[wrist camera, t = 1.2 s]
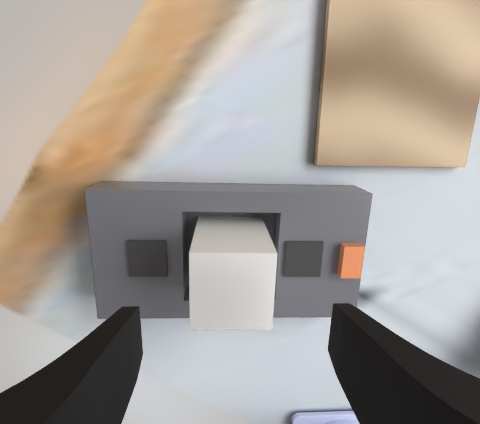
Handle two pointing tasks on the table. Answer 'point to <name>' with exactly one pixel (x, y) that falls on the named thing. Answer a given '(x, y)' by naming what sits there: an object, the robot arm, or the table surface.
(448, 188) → the table surface
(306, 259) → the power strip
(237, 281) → the white rectangular block
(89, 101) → the table surface
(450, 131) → the cork coaster
